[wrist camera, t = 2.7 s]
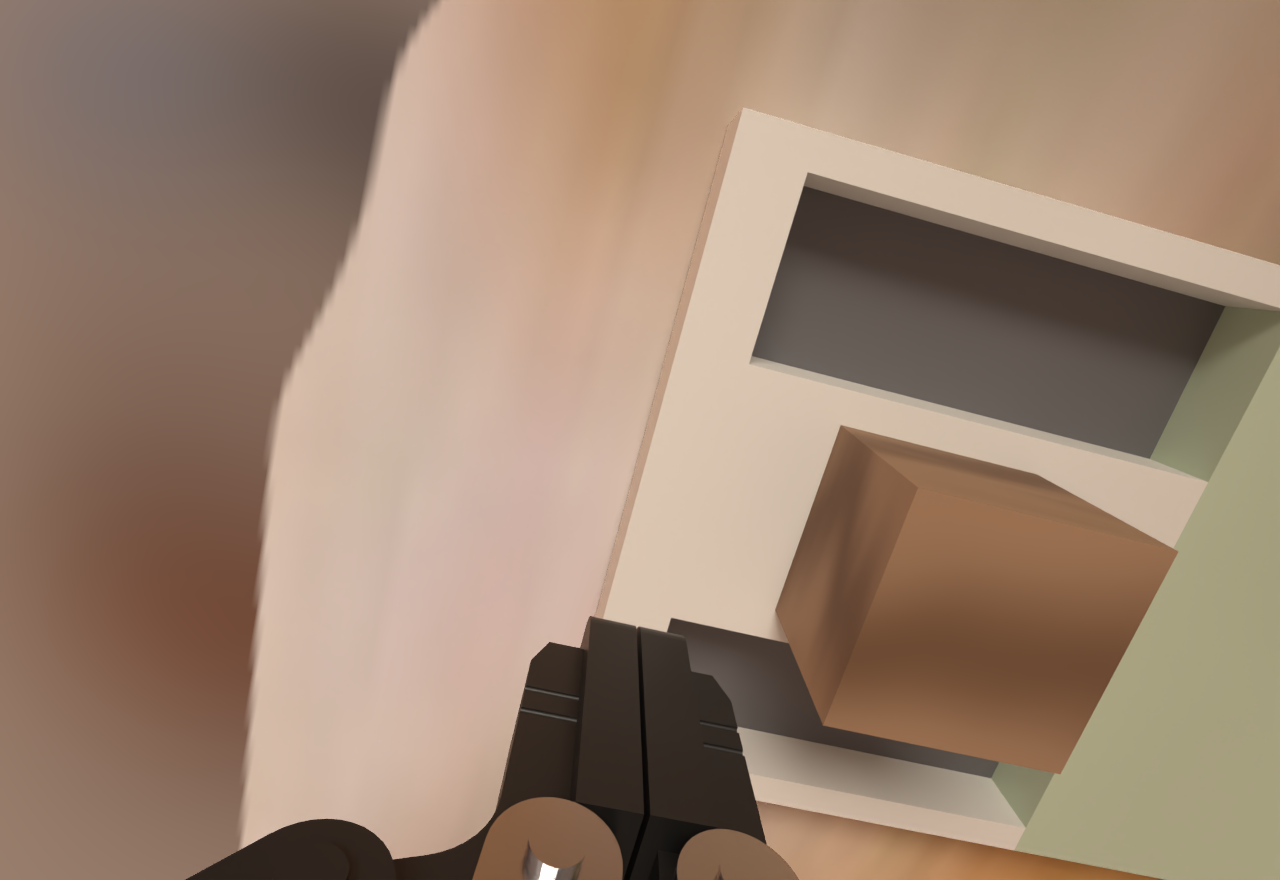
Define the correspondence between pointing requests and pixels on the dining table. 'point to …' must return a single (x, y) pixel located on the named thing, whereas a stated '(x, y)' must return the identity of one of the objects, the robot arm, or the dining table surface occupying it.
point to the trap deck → (985, 430)
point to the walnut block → (961, 601)
